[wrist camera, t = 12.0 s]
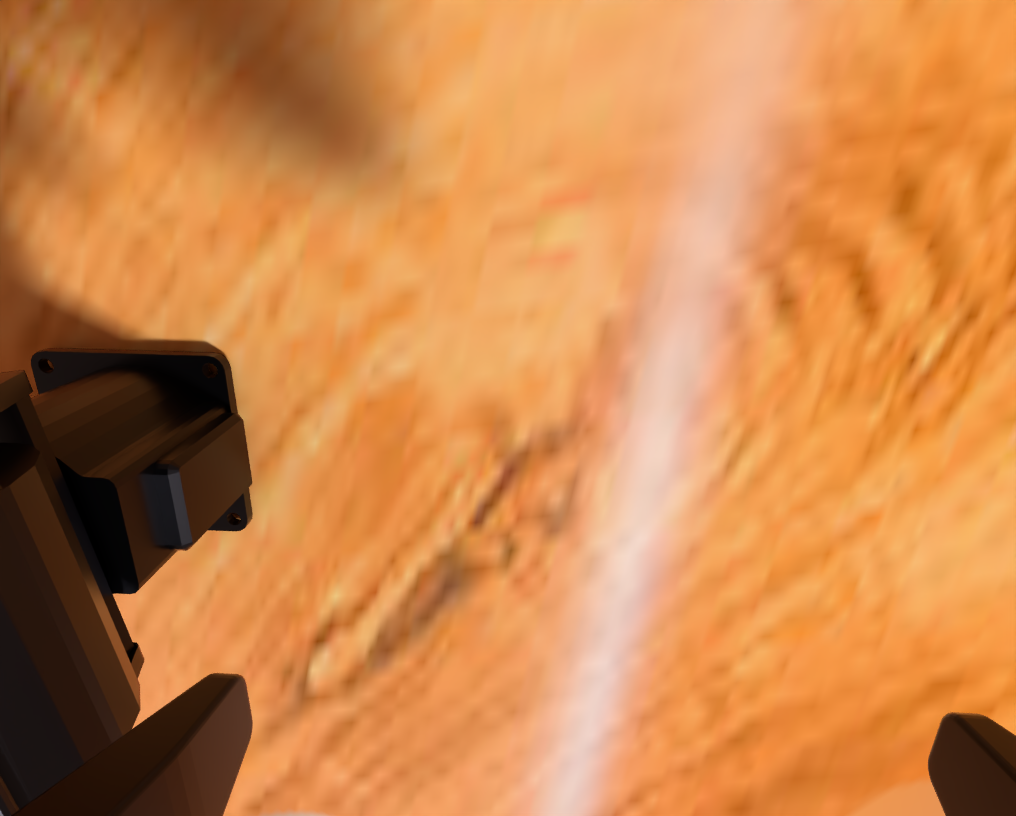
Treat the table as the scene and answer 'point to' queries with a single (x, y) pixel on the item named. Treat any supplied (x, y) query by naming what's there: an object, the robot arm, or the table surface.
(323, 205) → the table surface
